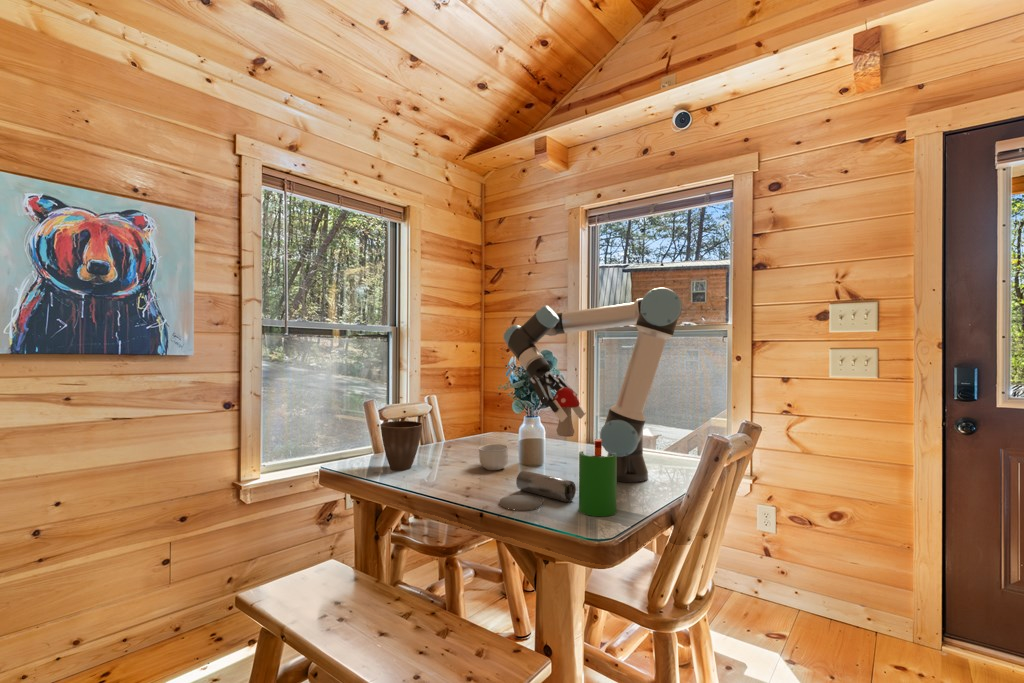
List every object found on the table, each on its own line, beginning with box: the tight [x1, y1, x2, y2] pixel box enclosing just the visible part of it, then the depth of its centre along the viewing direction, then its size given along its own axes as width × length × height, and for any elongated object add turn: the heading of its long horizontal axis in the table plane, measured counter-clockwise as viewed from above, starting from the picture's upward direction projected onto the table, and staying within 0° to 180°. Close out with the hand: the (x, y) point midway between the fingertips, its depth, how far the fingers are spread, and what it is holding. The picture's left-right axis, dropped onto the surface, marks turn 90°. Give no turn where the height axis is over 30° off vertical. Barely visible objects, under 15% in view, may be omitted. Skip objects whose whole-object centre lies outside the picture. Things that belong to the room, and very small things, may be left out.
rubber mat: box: [499, 494, 543, 511], centre depth 148 cm, size 12×12×1 cm
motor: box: [578, 438, 618, 517], centre depth 142 cm, size 10×9×20 cm
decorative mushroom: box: [552, 387, 581, 438], centre depth 163 cm, size 10×9×15 cm
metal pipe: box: [516, 470, 577, 503], centre depth 156 cm, size 6×18×6 cm, turn 47°
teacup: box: [478, 443, 509, 471], centre depth 191 cm, size 14×11×8 cm
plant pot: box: [380, 420, 423, 471], centre depth 189 cm, size 15×15×16 cm
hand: (573, 417), depth 161 cm, fingers closed on decorative mushroom, 9 cm apart
